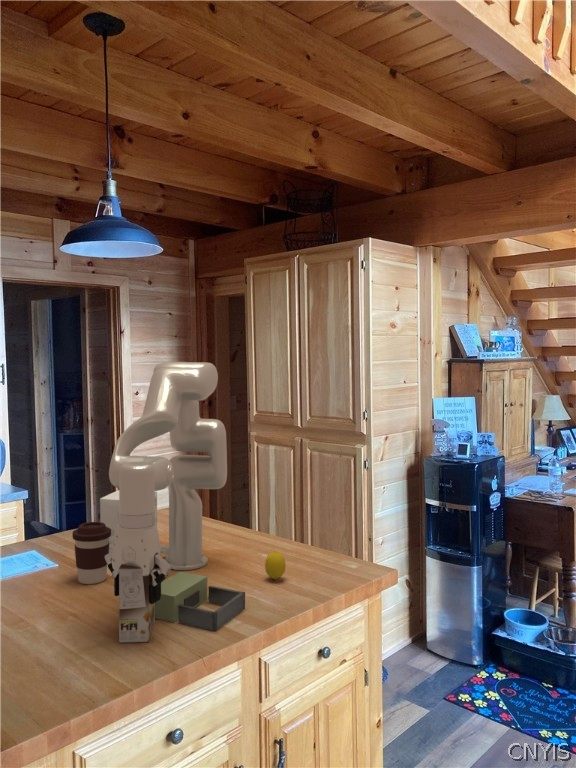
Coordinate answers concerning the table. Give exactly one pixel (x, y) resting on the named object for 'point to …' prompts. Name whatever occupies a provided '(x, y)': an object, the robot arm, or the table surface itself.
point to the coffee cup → (91, 551)
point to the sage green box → (180, 594)
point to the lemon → (275, 565)
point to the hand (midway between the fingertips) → (137, 597)
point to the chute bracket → (214, 620)
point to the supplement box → (114, 513)
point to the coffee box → (134, 605)
